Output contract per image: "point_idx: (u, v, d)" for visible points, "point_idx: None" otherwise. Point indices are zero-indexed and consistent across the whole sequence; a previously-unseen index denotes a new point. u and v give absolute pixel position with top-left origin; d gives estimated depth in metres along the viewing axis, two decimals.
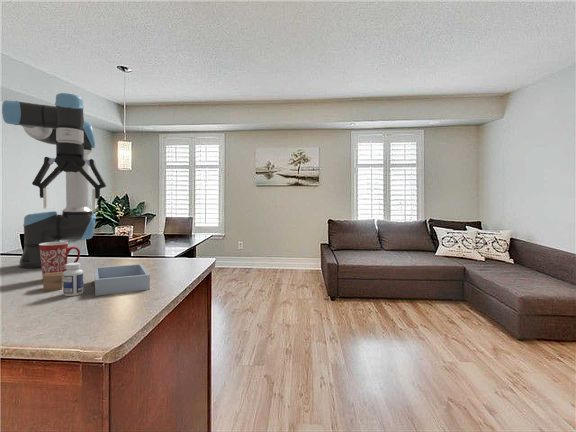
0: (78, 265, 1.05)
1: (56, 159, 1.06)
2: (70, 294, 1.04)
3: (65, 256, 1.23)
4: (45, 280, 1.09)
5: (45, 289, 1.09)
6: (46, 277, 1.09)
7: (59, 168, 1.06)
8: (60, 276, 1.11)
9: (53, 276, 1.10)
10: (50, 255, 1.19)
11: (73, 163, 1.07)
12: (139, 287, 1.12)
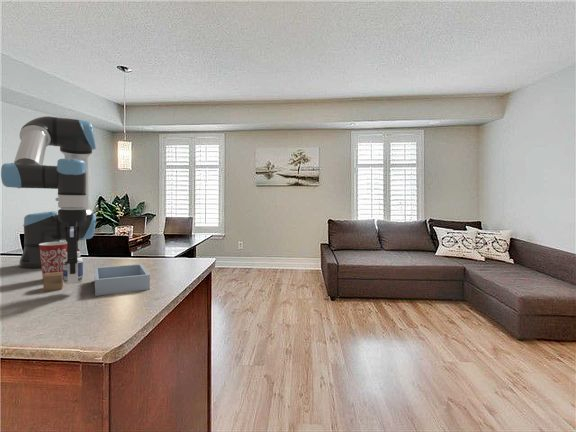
0: (78, 253, 1.06)
1: None
2: None
3: None
4: (45, 280, 1.09)
5: (45, 289, 1.09)
6: (46, 277, 1.09)
7: None
8: (60, 276, 1.11)
9: (53, 276, 1.10)
10: (50, 255, 1.19)
11: (65, 230, 1.03)
12: (139, 287, 1.12)
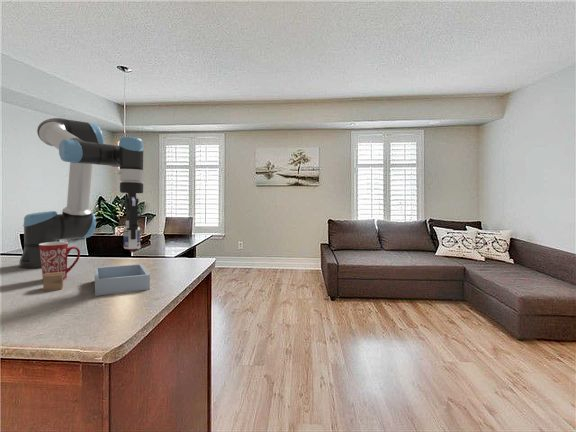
0: None
1: (127, 198, 1.20)
2: None
3: (65, 256, 1.23)
4: (45, 280, 1.09)
5: (45, 289, 1.09)
6: (46, 277, 1.09)
7: (126, 206, 1.18)
8: (60, 276, 1.11)
9: (53, 276, 1.10)
10: (50, 255, 1.19)
11: (126, 200, 1.16)
12: (139, 287, 1.12)
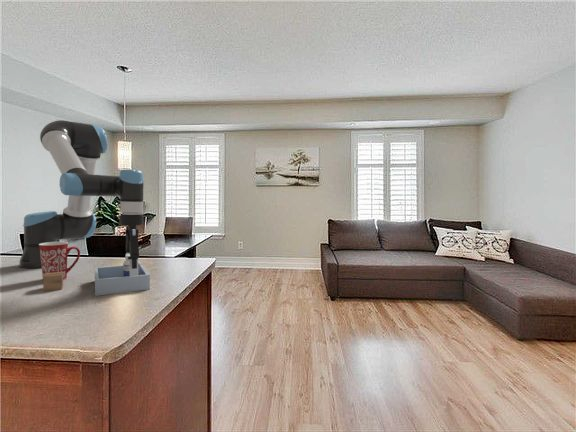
0: None
1: (127, 228, 1.21)
2: None
3: (65, 256, 1.23)
4: (45, 280, 1.09)
5: (45, 289, 1.09)
6: (46, 277, 1.09)
7: None
8: (60, 276, 1.11)
9: (53, 276, 1.10)
10: (50, 255, 1.19)
11: (126, 232, 1.16)
12: (139, 287, 1.12)
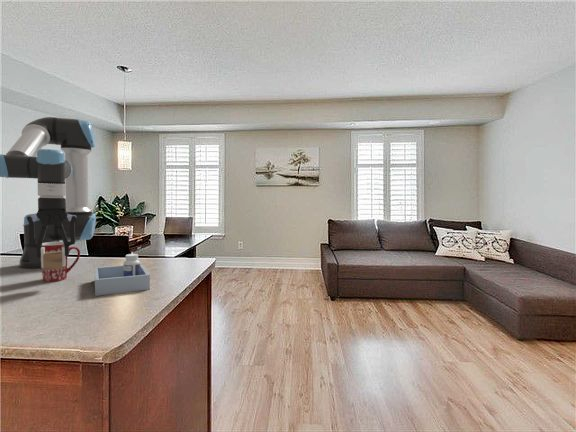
0: (136, 256, 1.19)
1: (38, 214, 1.08)
2: None
3: (65, 256, 1.23)
4: (45, 258, 1.08)
5: (45, 268, 1.09)
6: (46, 256, 1.09)
7: (46, 224, 1.08)
8: (60, 255, 1.10)
9: (53, 255, 1.09)
10: None
11: (56, 217, 1.10)
12: (139, 287, 1.12)
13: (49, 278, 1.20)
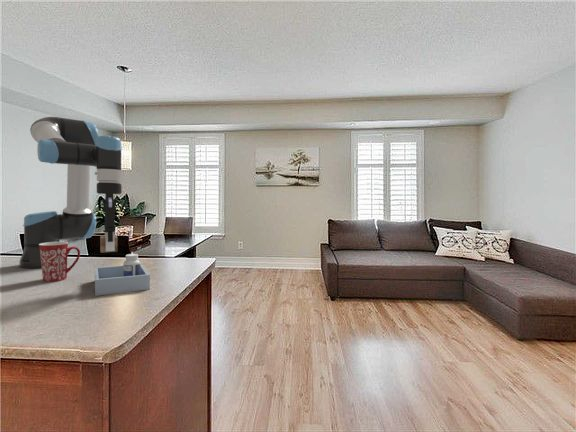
0: (136, 256, 1.19)
1: None
2: None
3: (65, 256, 1.23)
4: (100, 240, 1.15)
5: (100, 248, 1.15)
6: (100, 237, 1.15)
7: None
8: (100, 239, 1.12)
9: (100, 237, 1.13)
10: (50, 255, 1.19)
11: (103, 201, 1.12)
12: (139, 287, 1.12)
13: (49, 278, 1.20)
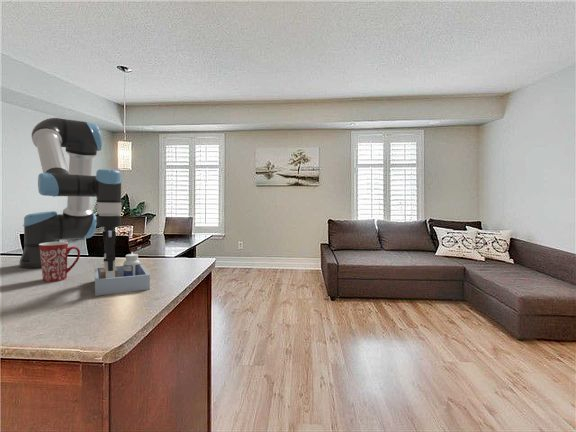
0: (136, 256, 1.19)
1: None
2: None
3: (65, 256, 1.23)
4: None
5: None
6: None
7: (103, 238, 1.17)
8: None
9: None
10: (50, 255, 1.19)
11: None
12: (139, 287, 1.12)
13: (49, 278, 1.20)
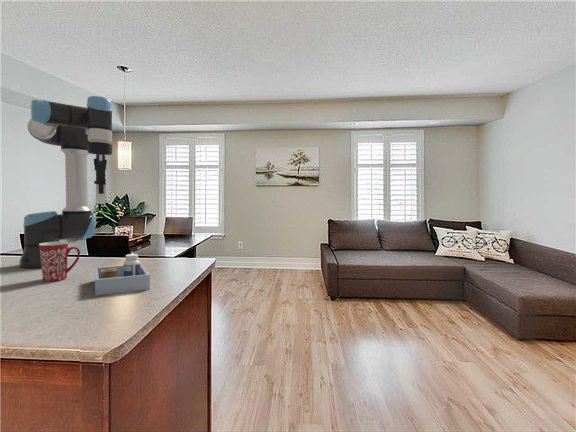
0: (136, 256, 1.19)
1: None
2: None
3: (65, 256, 1.23)
4: None
5: None
6: None
7: None
8: None
9: None
10: (50, 255, 1.19)
11: None
12: (139, 287, 1.12)
13: (49, 278, 1.20)
